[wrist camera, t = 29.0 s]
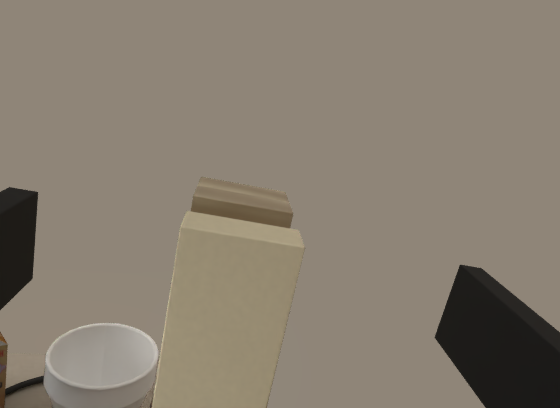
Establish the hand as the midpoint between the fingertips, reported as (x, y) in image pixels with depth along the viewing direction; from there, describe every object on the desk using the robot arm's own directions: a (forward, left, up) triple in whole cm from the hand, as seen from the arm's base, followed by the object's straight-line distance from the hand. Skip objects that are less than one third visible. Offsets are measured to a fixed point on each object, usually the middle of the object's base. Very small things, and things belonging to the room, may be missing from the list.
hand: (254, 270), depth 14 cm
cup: (-24, -25, -42) cm, 54 cm away
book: (-7, -4, -16) cm, 18 cm away
